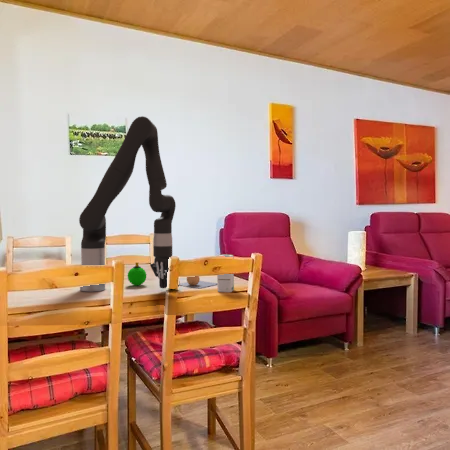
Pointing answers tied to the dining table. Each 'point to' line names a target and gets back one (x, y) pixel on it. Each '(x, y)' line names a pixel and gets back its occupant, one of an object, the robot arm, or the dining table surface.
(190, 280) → the orange ball
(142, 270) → the ornament
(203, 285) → the slate mark
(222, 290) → the syrup box
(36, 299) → the dining table surface
